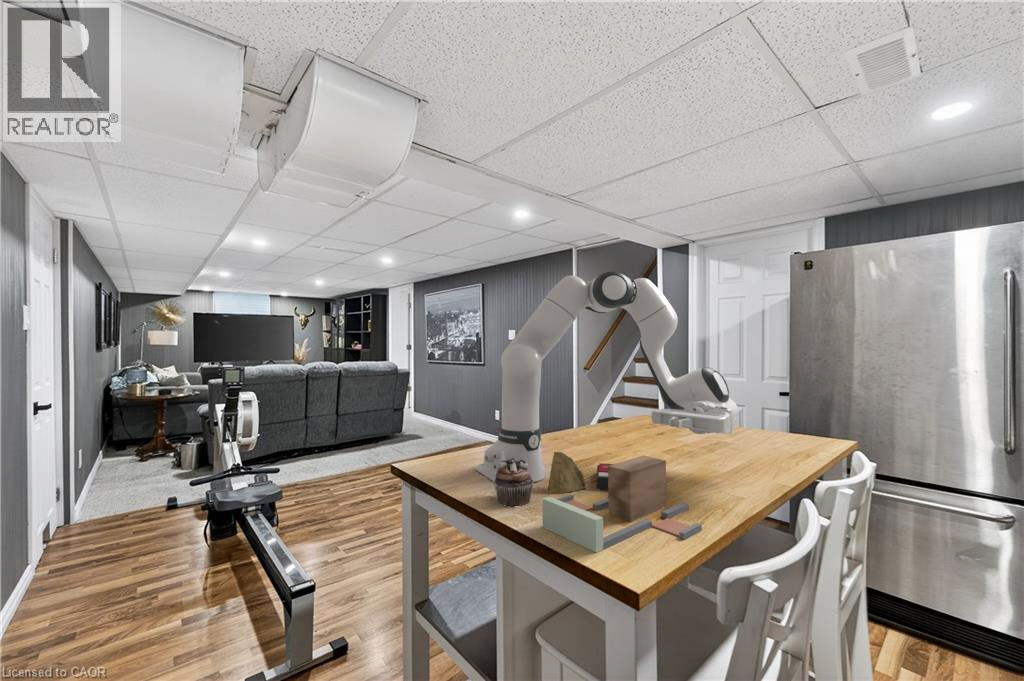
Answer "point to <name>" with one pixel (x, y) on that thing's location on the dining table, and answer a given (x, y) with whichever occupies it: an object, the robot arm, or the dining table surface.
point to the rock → (565, 475)
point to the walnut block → (636, 487)
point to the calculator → (602, 476)
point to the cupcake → (513, 483)
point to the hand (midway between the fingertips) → (673, 423)
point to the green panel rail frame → (588, 527)
